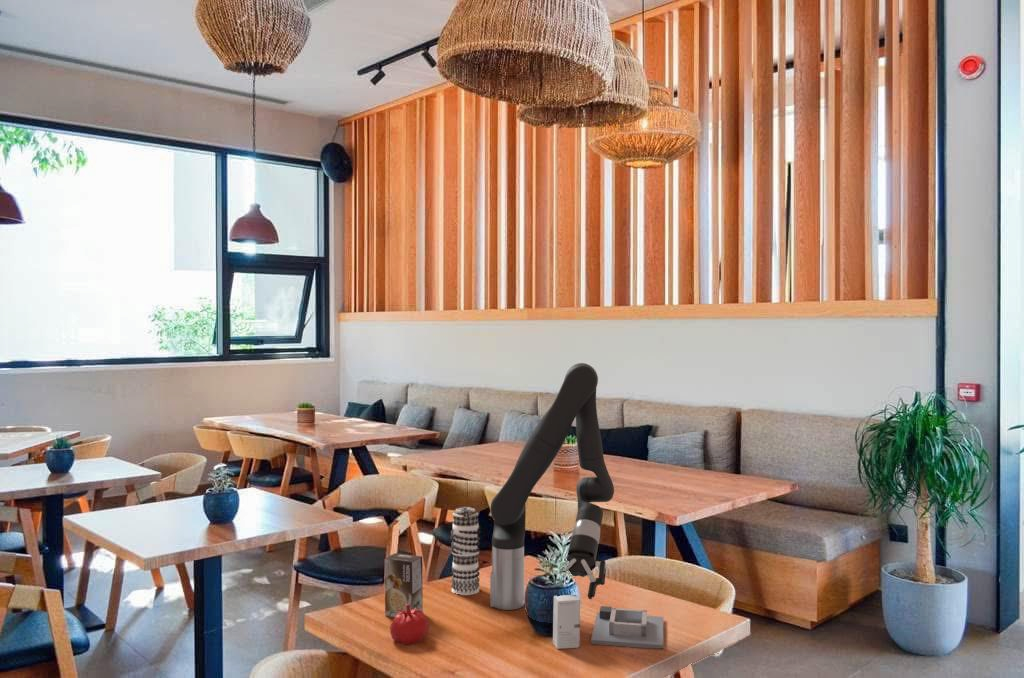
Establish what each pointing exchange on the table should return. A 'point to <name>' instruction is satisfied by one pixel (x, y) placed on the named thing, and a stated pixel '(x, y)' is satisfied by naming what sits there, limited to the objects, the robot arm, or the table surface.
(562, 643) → the skincare box
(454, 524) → the decorative candle
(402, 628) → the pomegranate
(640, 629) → the guard collar
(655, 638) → the grey holder base
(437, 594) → the table surface
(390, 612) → the coffee box
